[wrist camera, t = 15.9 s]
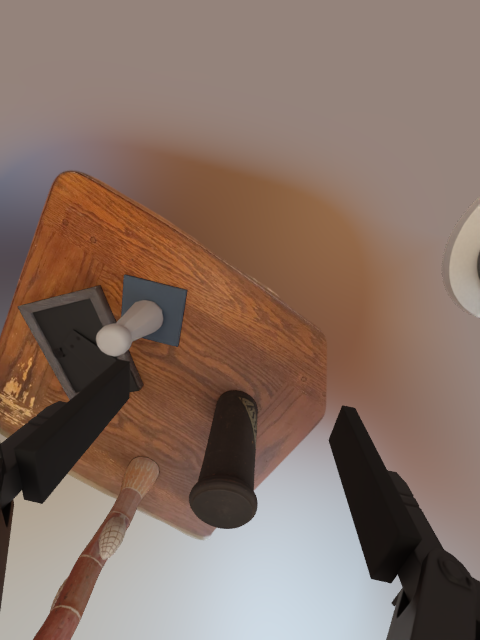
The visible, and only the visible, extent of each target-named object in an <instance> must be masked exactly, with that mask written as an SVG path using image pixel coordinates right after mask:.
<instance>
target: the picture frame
mask: <svg viewBox="0 0 480 640" xmlns="http://www.w3.org/2000/svg"><path fill="white" fill-rule="evenodd" d="M18 309H19V310H20V312H21V314H22V316H23V317H24V319H25V321H26V323H27V325H28V326H29V328H30V330H31V332H32V334H33V335H34V337H35V339H36V341H37V342H38V344H39V346H40V348H41V350H42V351H43V353H44V355H45V357H46V359H47V360H48V362H49V364H50V366H51V367H52V369H53V371H54V373H55V375H56V376H57V378H58V380H59V382H60V384H61V385H62V387H63V389H64V391H65V393H66V394H67V396H68V398H69V400H71V399H72V398H73V397H74V396H76V395H77V394H78V393H79V392H80V391H81V390H83V389H84V388H85V387H86V386H87V385H88V384H90V383H91V382H92V381H93V380H94V379H95V378H97V377H98V376H99V375H100V374H101V373H102V372H104V371H105V370H106V369H107V368H108V367H109V366H110V365H112V364H113V363H114V362H115V361H116V360H117V359H120V360H125V361H130V391H129V392H134V391H139V390H140V389H141V387H142V386H143V382H142V380H141V378H140V375H139V373H138V371H137V369H136V366H135V364H134V362H133V359H132V357H131V355H130V352H129V350H127V351H126V352H125V353H124V354H122V355H119V356H110V355H107V354H105V353H104V352H102V351H101V350H100V348H99V347H98V345H97V342H96V336H97V333H98V332H99V331H100V330H101V329H102V328H103V327H104V326H106V325H109V324H113V323H115V324H116V320H115V318H114V316H113V313H112V311H111V309H110V306H109V304H108V302H107V300H106V297H105V295H104V293H103V290H102V288H101V286H100V285H99V286H96V287H92V288H88V289H84V290H80V291H76V292H72V293H68V294H64V295H60V296H56V297H52V298H48V299H44V300H40V301H36V302H32V303H28V304H25V305H21V306H18Z"/></svg>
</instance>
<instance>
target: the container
mask: <svg viewBox="0 0 480 640" xmlns="http://www.w3.org/2000/svg"><path fill="white" fill-rule="evenodd" d="M257 414H258V409H257V405H256V403H255V401H254V399H253V398H252V397H251V396H249V395H248V394H246V393H244V392H241V391H229V392H226V393H224V394H223V395H221V396H220V398H219V399H218V401H217V404H216V408H215V413H214V418H213V422H212V426H211V431H210V435H209V439H208V444H207V448H206V452H205V456H204V460H203V464H202V468H201V472H200V476H199V479H198V482H197V483H196V484H195V485H194V487H193V488H192V490H191V492H190V495H189V502H190V506H191V508H192V510H193V512H194V513H195V514H196V515H197V517H198V518H199V519H201V520H202V521H203V522H205V523H207V524H209V525H211V526H214V527H217V528H224V529H232V528H237V527H240V526H242V525H244V524H246V523H247V522H249V521H250V520H251V519H252V518H253V517H254V515H255V514H256V511H257V498H256V495H255V493H254V468H255V452H256V433H257Z"/></svg>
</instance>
